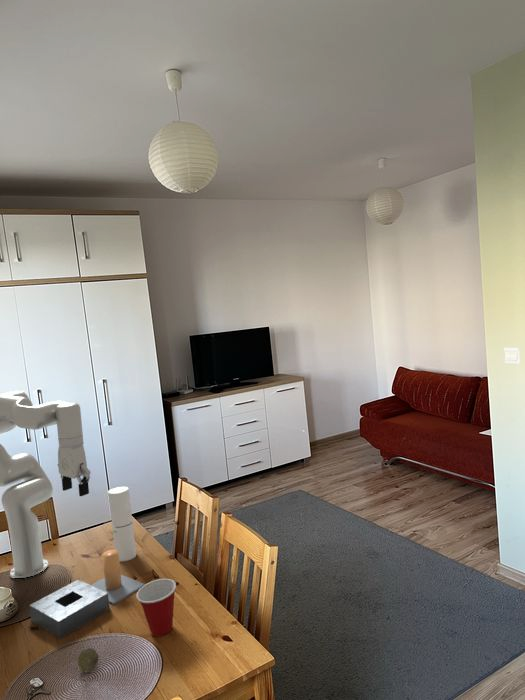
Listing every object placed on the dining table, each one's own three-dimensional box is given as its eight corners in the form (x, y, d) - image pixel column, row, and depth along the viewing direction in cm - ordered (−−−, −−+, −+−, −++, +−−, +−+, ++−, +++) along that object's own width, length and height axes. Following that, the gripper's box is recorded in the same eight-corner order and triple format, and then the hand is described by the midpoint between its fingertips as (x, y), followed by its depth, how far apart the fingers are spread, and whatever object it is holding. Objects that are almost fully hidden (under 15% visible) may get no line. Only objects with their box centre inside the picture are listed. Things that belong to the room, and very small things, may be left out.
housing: (31, 621, 151) (29, 605, 151) (79, 594, 163) (78, 579, 163) (60, 638, 141) (58, 621, 141) (109, 609, 153) (107, 593, 153)
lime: (100, 661, 130) (97, 642, 130) (94, 675, 125) (92, 655, 125) (82, 663, 130) (80, 644, 129) (76, 677, 125) (73, 657, 125)
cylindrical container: (130, 561, 183) (122, 493, 181) (112, 561, 184) (104, 493, 182) (139, 551, 190) (131, 486, 188) (121, 551, 191) (114, 486, 189)
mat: (83, 590, 166) (83, 588, 166) (114, 573, 175) (114, 572, 175) (113, 604, 156) (113, 602, 156) (144, 585, 165) (144, 584, 165)
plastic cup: (137, 626, 143) (132, 585, 143) (175, 613, 148) (170, 574, 147) (144, 648, 133) (139, 604, 133) (185, 634, 138) (180, 591, 137)
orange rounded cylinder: (102, 587, 165) (99, 554, 164) (115, 580, 169) (112, 548, 168) (112, 592, 162) (108, 558, 161) (124, 584, 166) (121, 551, 165)
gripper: (46, 440, 169) (51, 490, 171) (75, 447, 158) (80, 501, 160) (66, 435, 175) (71, 483, 176) (96, 441, 164) (101, 493, 166)
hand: (75, 492), depth 168 cm, fingers open, 9 cm apart
